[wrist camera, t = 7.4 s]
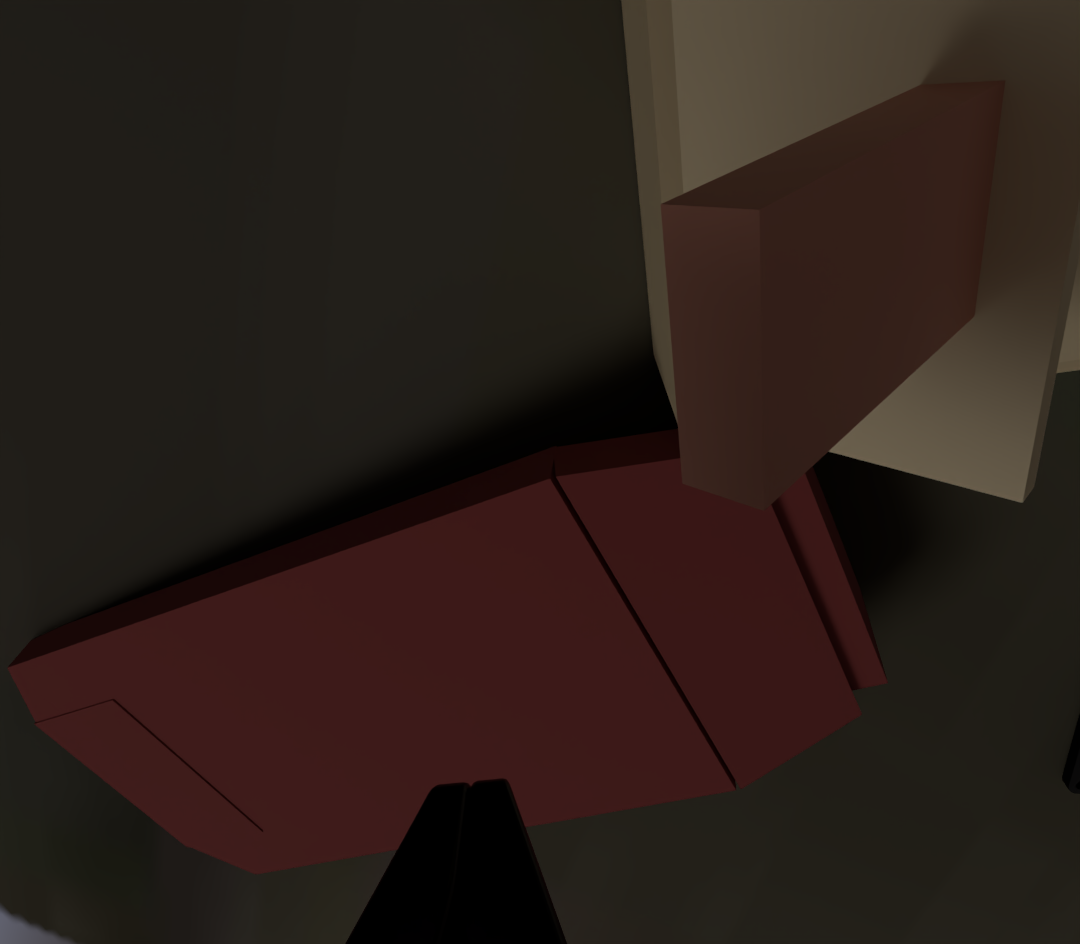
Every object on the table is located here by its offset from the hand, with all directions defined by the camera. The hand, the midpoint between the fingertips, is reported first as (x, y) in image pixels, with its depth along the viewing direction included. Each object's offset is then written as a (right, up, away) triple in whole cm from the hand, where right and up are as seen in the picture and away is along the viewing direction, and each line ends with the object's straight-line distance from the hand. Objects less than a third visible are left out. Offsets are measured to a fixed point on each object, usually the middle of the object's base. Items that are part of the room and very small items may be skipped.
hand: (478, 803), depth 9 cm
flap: (+5, +8, +3) cm, 10 cm away
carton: (-3, -1, +17) cm, 17 cm away
